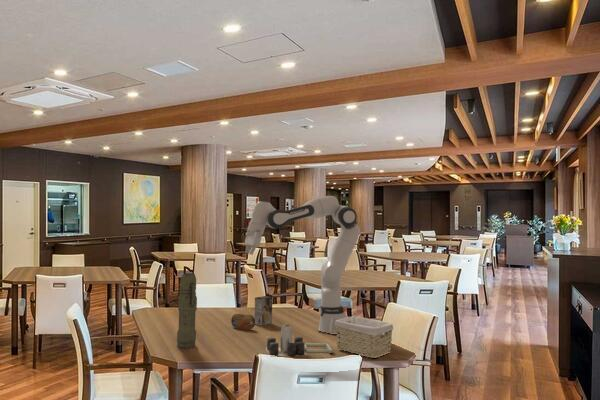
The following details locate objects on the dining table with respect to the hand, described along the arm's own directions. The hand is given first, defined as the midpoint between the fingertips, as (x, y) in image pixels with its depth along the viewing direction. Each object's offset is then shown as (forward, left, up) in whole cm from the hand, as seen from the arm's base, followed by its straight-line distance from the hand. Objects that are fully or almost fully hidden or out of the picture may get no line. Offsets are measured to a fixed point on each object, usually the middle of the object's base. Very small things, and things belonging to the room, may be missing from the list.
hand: (248, 253), depth 254 cm
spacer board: (-17, +37, -43) cm, 60 cm away
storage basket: (-55, +37, -44) cm, 79 cm away
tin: (+2, -15, -44) cm, 46 cm away
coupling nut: (-17, +37, -42) cm, 59 cm away
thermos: (+30, +21, -44) cm, 57 cm away
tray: (-33, +33, -43) cm, 64 cm away
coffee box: (-10, -27, -44) cm, 52 cm away
